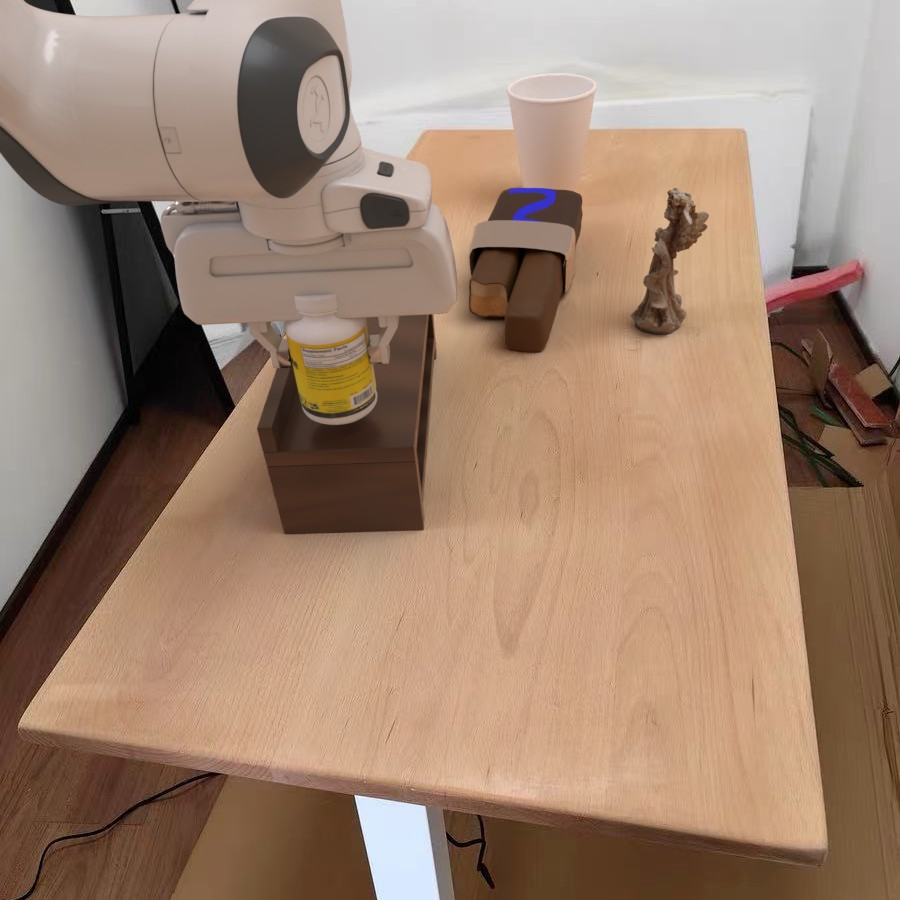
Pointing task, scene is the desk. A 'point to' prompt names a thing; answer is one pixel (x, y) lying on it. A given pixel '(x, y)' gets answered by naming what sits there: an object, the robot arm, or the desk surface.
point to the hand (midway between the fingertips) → (333, 362)
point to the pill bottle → (331, 362)
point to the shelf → (356, 445)
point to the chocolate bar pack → (525, 262)
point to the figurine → (668, 265)
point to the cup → (551, 128)
